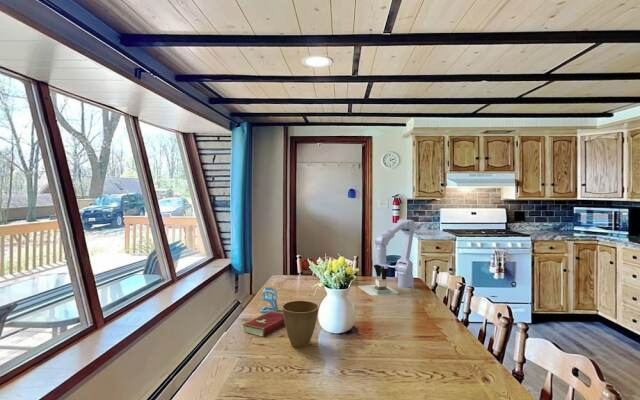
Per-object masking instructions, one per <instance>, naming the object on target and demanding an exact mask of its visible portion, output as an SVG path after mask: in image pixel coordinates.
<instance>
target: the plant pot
mask: <svg viewBox="0 0 640 400" xmlns="http://www.w3.org/2000/svg"><path fill="white" fill-rule="evenodd" d="M319 307H320V306H319V304H317V303H315V302H313V301H308V300H292V301H291V300H290V301H288V302H286V303H283V305H282V313H283V316H284V322H285V330H286V333H287V337H288V339H289V342H290V346H292V347H294V348H299V349H300V348H301V349H302V348H306V347H308V346H310V343H311V340H312V337H313V334H314V331H315V327H316V324H317V323H316V322H317V318H318V314H319Z"/></svg>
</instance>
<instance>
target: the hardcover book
mask: <svg viewBox="0 0 640 400" xmlns="http://www.w3.org/2000/svg"><path fill="white" fill-rule="evenodd" d="M241 325H243V332H244V333H249V334H251V335H252V334H253V335H256V336H260V337H262V338H265V337H266V336H268V335H269V334H272V333H274V332H275V331H277V330H279V329H280V328H283V327H284V325H285V322H284V316H283V312H279V311H277V312H275V311H269V312H266V313H263V314H261V315H259V316H256V317H254V318H252V319H250V320H247V321H245V322H243V323H242V324H241Z"/></svg>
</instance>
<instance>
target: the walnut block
mask: <svg viewBox="0 0 640 400" xmlns="http://www.w3.org/2000/svg"><path fill="white" fill-rule="evenodd" d="M374 285H375V289H377V290H386V287H387V286H388V285H387V286H386V287H378V286H377V285H376V284H374Z"/></svg>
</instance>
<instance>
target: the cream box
mask: <svg viewBox="0 0 640 400" xmlns="http://www.w3.org/2000/svg"><path fill="white" fill-rule="evenodd" d="M387 281H388V280H387V279H386V280H382V277H376V278H375V285H377V286H378V287H386V286H388V285H387V283H388V282H387Z"/></svg>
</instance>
